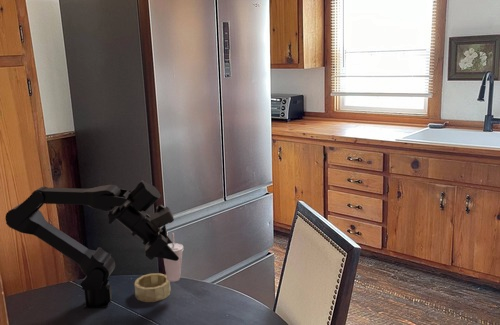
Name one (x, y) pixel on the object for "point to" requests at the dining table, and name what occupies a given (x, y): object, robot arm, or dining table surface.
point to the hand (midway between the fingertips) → (177, 254)
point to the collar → (152, 287)
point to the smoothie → (174, 262)
